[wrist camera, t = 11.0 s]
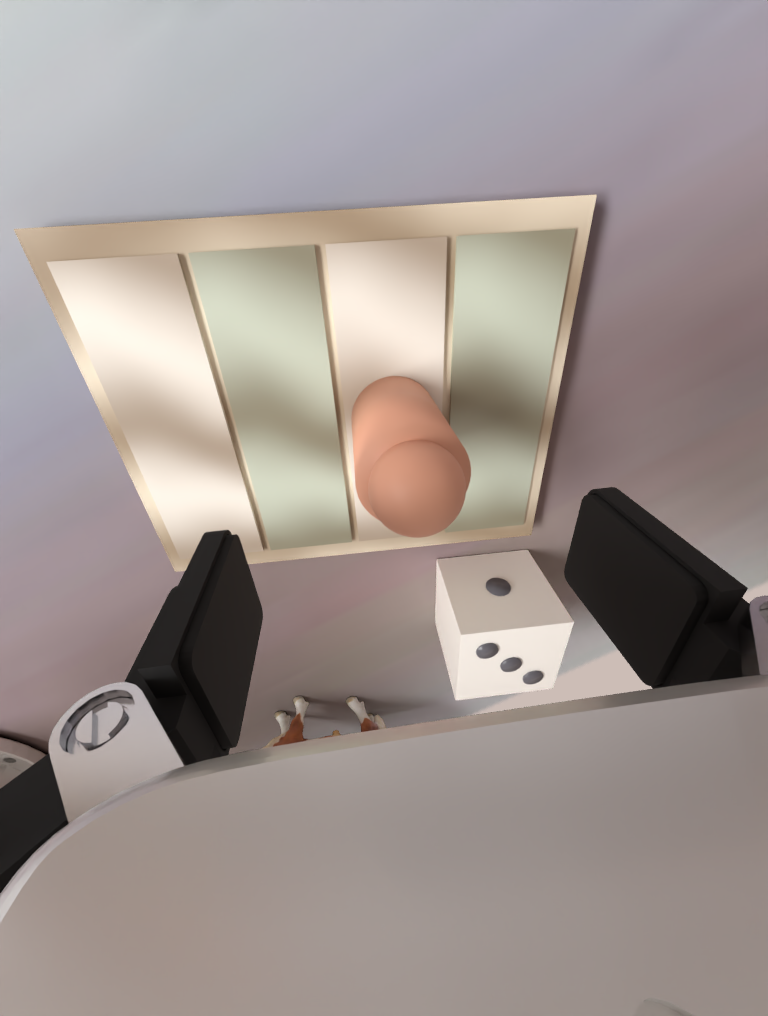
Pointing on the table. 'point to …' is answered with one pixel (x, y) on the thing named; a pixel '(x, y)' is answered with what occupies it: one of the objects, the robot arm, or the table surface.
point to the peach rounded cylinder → (407, 458)
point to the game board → (318, 358)
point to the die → (499, 624)
